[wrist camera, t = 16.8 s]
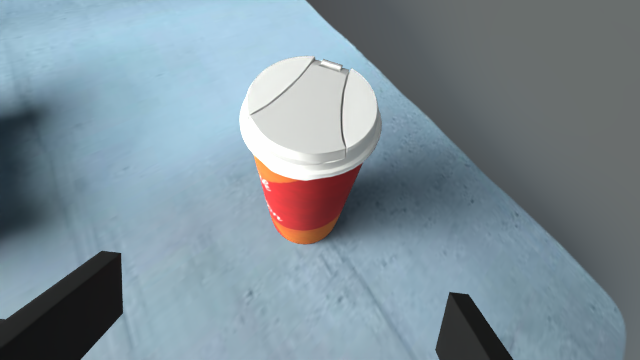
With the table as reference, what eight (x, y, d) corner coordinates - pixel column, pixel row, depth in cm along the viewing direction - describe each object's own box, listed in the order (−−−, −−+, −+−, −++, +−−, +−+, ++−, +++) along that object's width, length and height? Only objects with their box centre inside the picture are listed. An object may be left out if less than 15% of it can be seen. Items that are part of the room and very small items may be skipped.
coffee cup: (281, 164, 34) (274, 34, 21) (359, 192, 33) (402, 73, 20) (242, 238, 30) (205, 133, 17) (331, 273, 29) (361, 189, 16)
